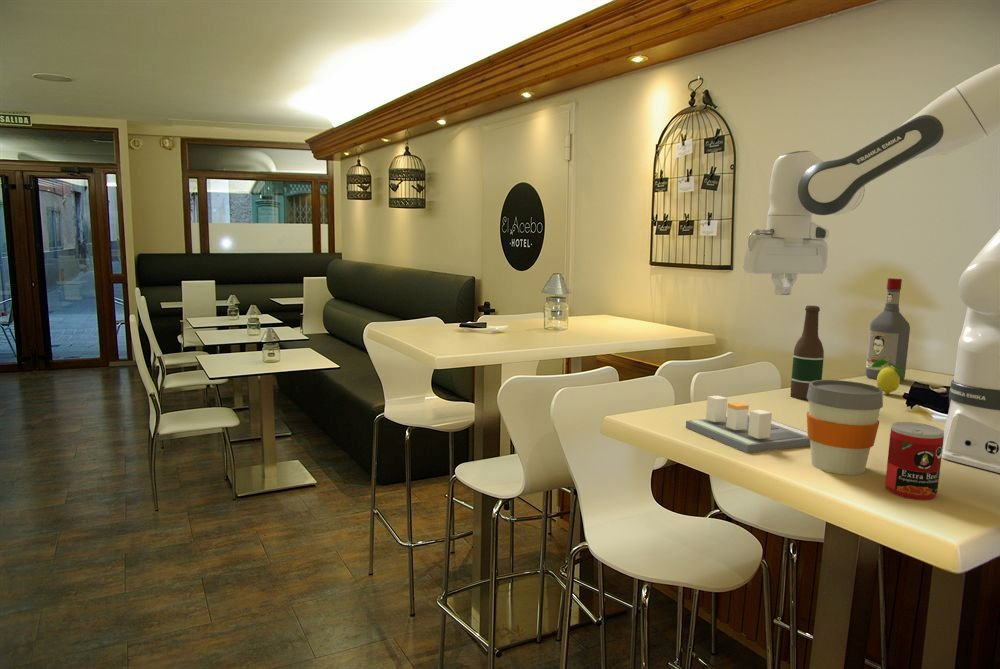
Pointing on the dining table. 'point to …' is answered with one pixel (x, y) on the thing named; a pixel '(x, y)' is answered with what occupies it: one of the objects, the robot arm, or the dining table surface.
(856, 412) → the reusable coffee cup
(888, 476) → the canned food
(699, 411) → the dining table surface
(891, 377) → the lemon
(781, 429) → the panel
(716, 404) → the block
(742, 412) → the block
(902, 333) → the liquor
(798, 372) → the beer bottle
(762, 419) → the block
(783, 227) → the robot arm
